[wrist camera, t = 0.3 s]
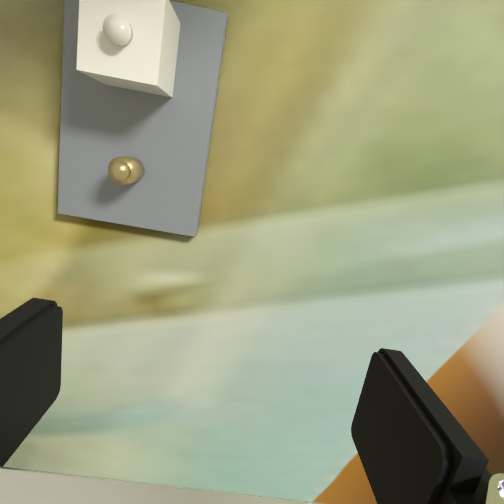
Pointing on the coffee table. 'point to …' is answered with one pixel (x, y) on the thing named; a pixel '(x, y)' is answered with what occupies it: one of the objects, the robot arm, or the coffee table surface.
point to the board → (141, 132)
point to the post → (126, 170)
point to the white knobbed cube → (129, 44)
